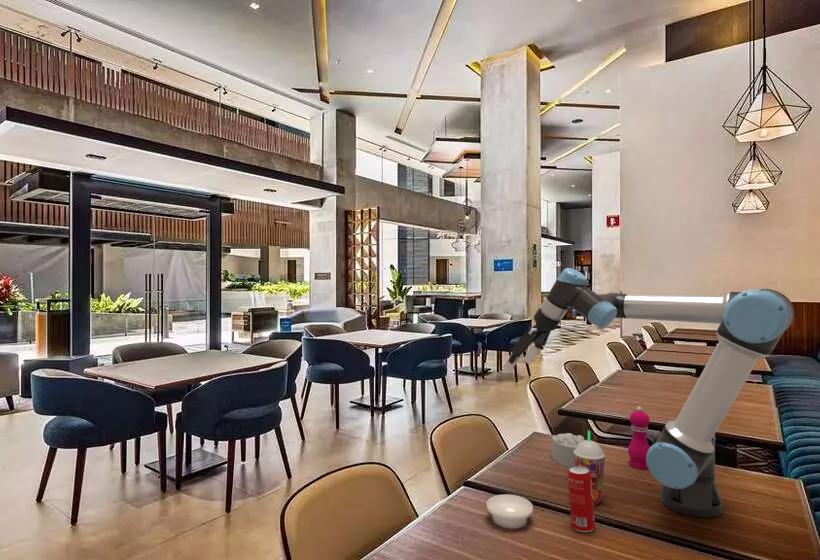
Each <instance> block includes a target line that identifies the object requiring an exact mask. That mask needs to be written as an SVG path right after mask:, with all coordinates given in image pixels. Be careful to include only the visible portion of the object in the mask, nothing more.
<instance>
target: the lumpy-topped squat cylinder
mask: <svg viewBox="0 0 820 560" xmlns="http://www.w3.org/2000/svg"><path fill="white" fill-rule="evenodd" d="M584 440H585V437H584V436H583V435H579V434H578V435H574V434H573V433H570V432H569V433H568V432H567V433H558V434H556V435H553V436H552V437H551V457H552V460H553V459H554V461H555V462H556V463H557V464H559V465H560V466H563V467H566V468H568V469H569V468H570V467H573V466H575V461H574V450H575V449H576V447H577V445H578V444H579V443H580V442H582V441H584Z"/></svg>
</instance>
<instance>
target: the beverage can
mask: <svg viewBox="0 0 820 560" xmlns="http://www.w3.org/2000/svg"><path fill="white" fill-rule="evenodd" d="M567 484H568V497H569V499H568V501H569V509H570V511H569V512H570V514H569V515H570V523H571V527H572V528H573V529H574V530H575V531H577V532H581V533H590V532H593V531H594V530H595V528H596V524H595V523H596V522H595V521H596V520H595V509H594V506H595V505H593V493H592V480H591V474H590V472H589V469H588V468H586V467H583V466H573V467H570V468H569V467H568V471H567Z"/></svg>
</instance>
